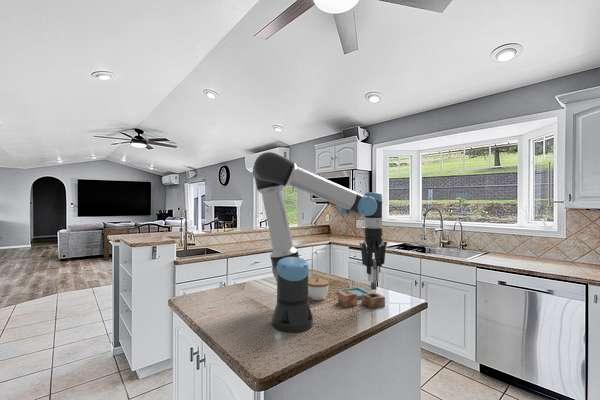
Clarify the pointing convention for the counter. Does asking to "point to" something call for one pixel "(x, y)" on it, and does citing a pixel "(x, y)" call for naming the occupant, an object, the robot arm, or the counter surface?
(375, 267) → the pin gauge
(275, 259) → the robot arm
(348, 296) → the block
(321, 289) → the lidded jar
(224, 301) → the counter surface
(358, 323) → the counter surface
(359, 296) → the tray
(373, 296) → the block
